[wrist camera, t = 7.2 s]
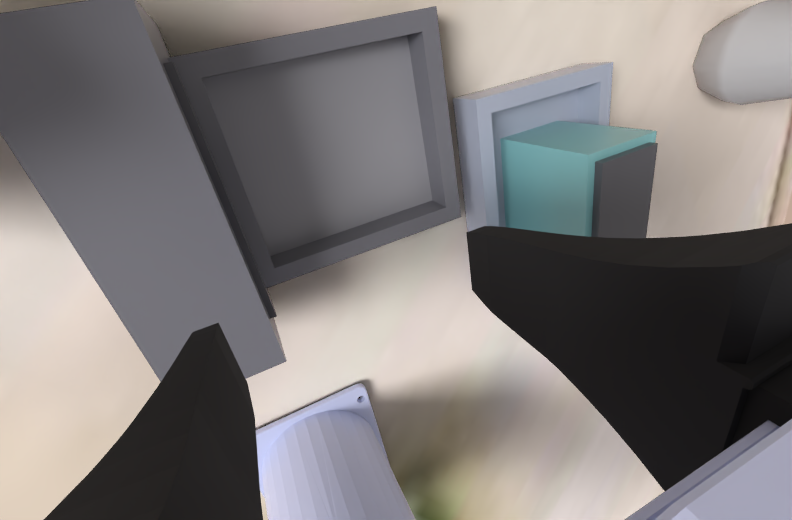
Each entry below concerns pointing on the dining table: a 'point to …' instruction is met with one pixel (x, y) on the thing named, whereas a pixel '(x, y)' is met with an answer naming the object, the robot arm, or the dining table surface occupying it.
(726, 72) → the salt shaker
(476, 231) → the robot arm
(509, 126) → the tray
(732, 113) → the dining table surface
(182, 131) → the bay
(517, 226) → the teal block grey face
